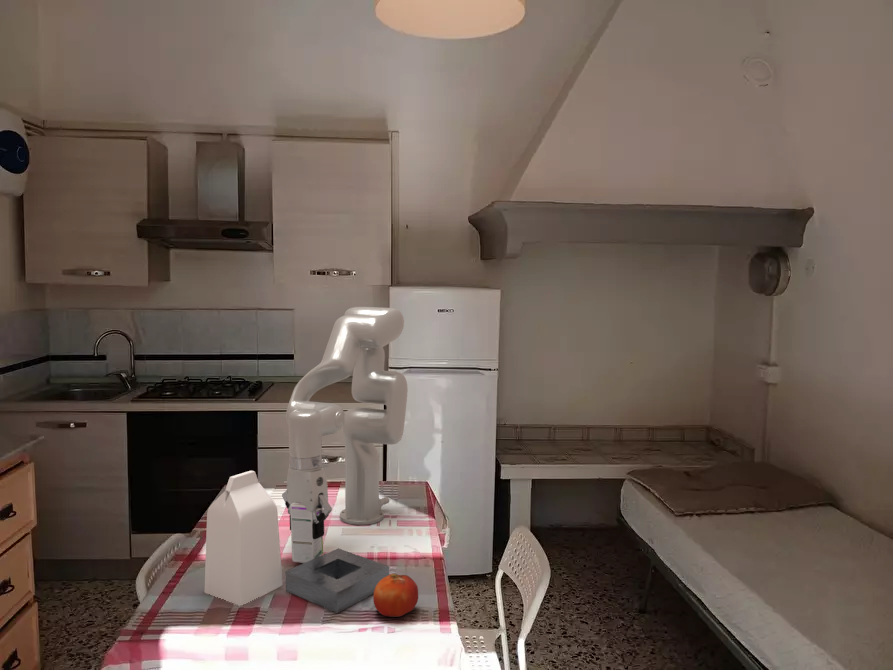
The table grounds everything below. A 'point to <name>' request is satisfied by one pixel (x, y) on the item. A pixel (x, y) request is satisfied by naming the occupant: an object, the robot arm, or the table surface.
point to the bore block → (325, 589)
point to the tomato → (395, 595)
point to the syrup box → (303, 535)
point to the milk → (242, 542)
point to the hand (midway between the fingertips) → (306, 532)
